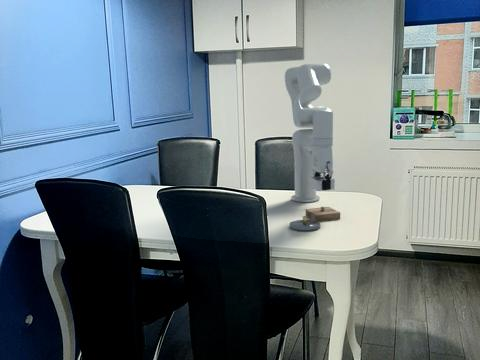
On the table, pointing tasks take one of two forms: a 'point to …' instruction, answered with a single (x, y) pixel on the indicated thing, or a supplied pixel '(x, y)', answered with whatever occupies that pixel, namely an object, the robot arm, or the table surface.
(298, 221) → the hub
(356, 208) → the table surface
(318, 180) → the square hollow frame
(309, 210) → the stand
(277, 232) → the table surface
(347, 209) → the table surface
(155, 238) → the table surface
